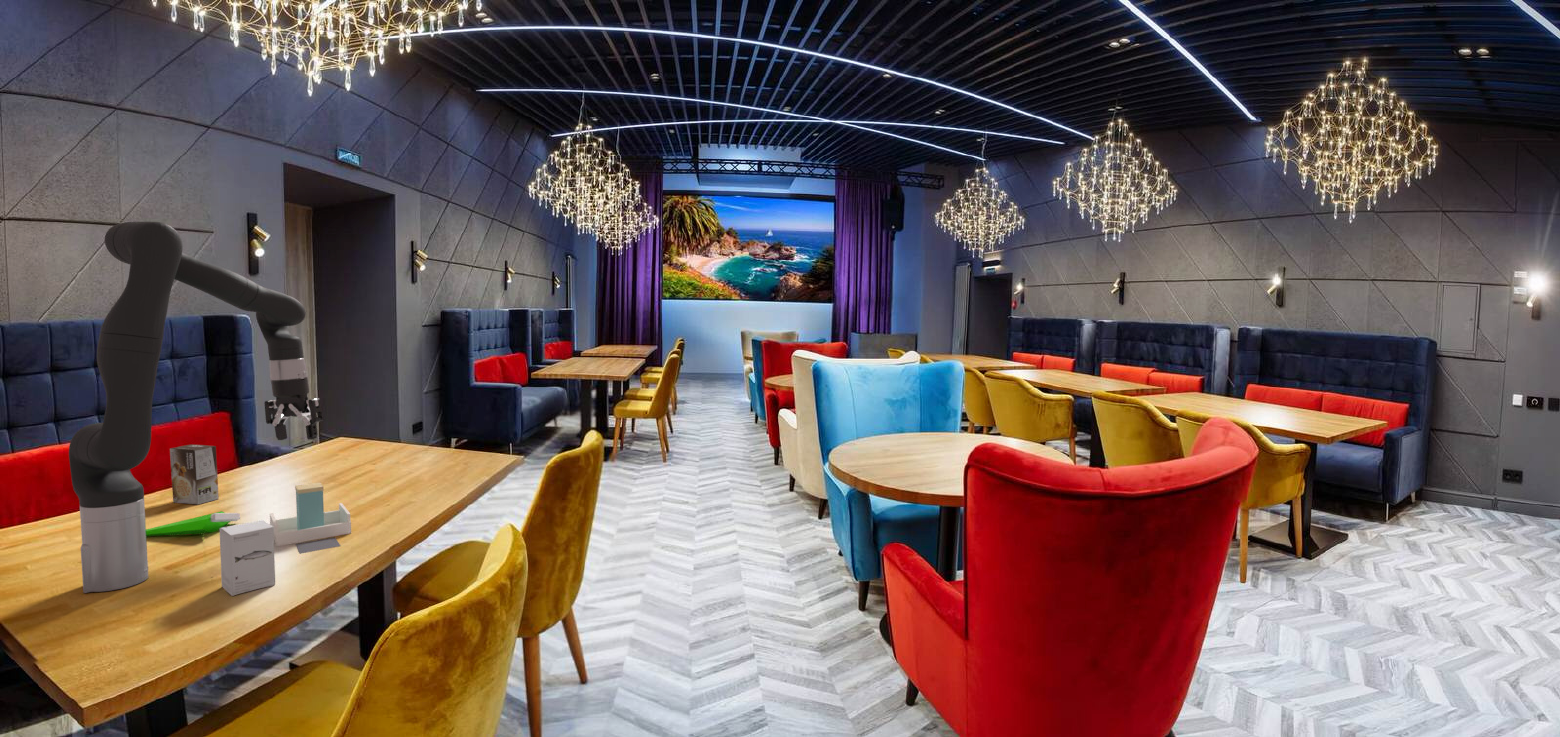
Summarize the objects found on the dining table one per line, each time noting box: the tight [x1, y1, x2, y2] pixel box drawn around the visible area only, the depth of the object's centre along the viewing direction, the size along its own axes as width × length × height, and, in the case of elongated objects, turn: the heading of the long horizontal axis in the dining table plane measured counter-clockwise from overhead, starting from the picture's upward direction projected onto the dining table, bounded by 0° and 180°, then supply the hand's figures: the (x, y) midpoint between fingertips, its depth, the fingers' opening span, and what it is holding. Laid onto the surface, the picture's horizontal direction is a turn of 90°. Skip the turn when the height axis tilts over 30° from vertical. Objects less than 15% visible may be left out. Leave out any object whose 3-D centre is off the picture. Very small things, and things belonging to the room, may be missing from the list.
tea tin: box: [294, 482, 325, 530], centre depth 165 cm, size 5×5×12 cm
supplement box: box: [218, 519, 276, 597], centre depth 134 cm, size 7×7×13 cm
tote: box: [269, 502, 352, 547], centre depth 165 cm, size 15×13×6 cm
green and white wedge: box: [146, 511, 241, 537], centre depth 163 cm, size 11×5×25 cm
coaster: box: [294, 536, 341, 555], centre depth 157 cm, size 8×8×1 cm
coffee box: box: [169, 444, 220, 505], centre depth 190 cm, size 9×6×16 cm
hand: (297, 439), depth 168 cm, fingers open, 8 cm apart
